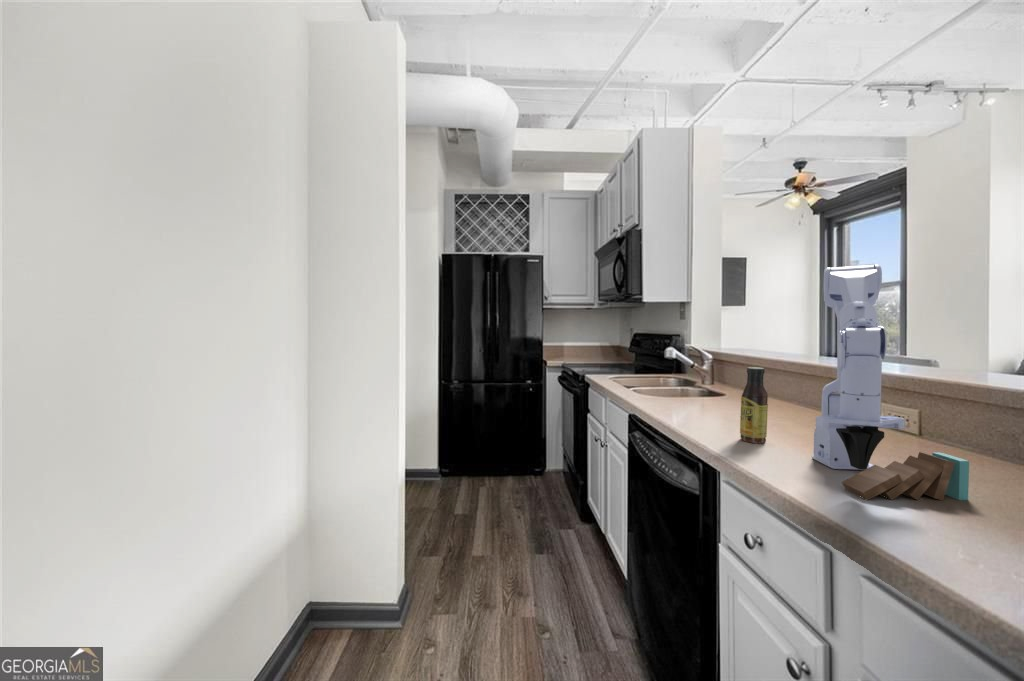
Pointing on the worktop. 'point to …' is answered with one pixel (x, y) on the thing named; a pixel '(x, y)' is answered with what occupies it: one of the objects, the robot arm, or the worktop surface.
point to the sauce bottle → (754, 408)
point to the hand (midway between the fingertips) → (858, 467)
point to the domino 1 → (872, 482)
